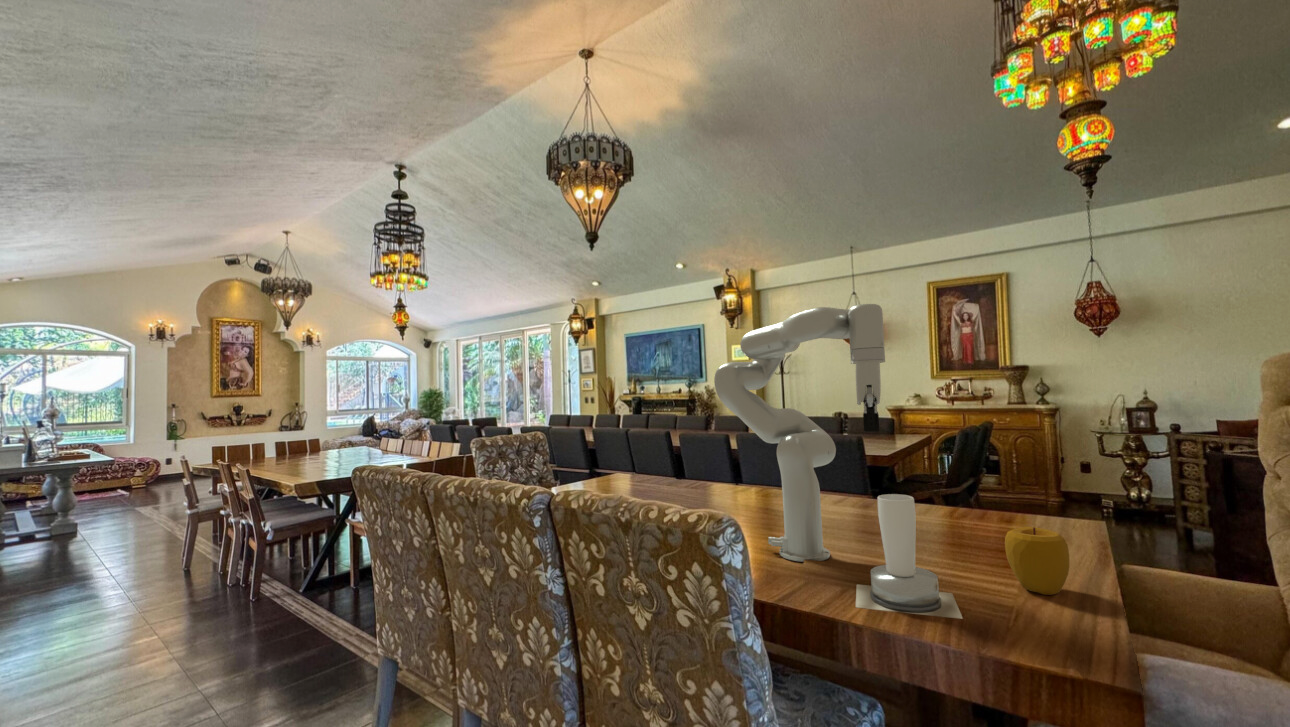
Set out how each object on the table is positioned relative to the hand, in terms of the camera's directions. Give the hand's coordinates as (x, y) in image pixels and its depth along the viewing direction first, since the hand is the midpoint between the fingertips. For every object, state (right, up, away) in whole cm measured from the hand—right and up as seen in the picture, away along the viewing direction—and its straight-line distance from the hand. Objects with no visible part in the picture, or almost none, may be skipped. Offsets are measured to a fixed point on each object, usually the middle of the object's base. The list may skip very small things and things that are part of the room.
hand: (871, 429), depth 126 cm
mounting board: (-2, -32, -20) cm, 38 cm away
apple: (+28, -32, -15) cm, 45 cm away
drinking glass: (-2, -26, -19) cm, 33 cm away
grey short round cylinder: (-2, -31, -20) cm, 37 cm away
